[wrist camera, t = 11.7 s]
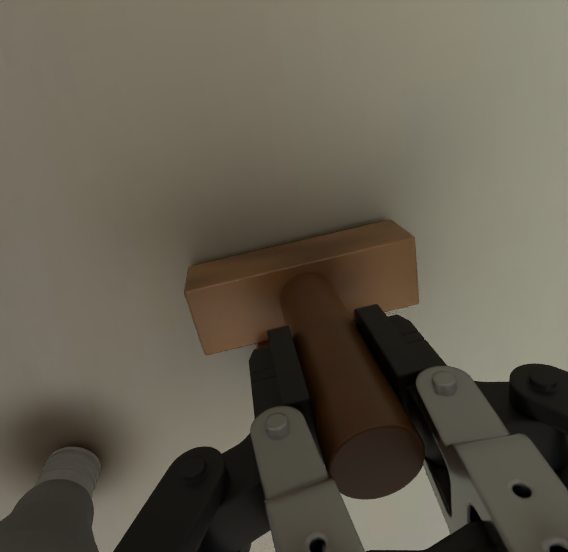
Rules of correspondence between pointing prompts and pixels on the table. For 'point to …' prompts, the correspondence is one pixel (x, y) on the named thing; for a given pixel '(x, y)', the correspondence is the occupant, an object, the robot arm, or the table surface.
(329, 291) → the wooden rubber stamp
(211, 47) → the table surface
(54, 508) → the light bulb
